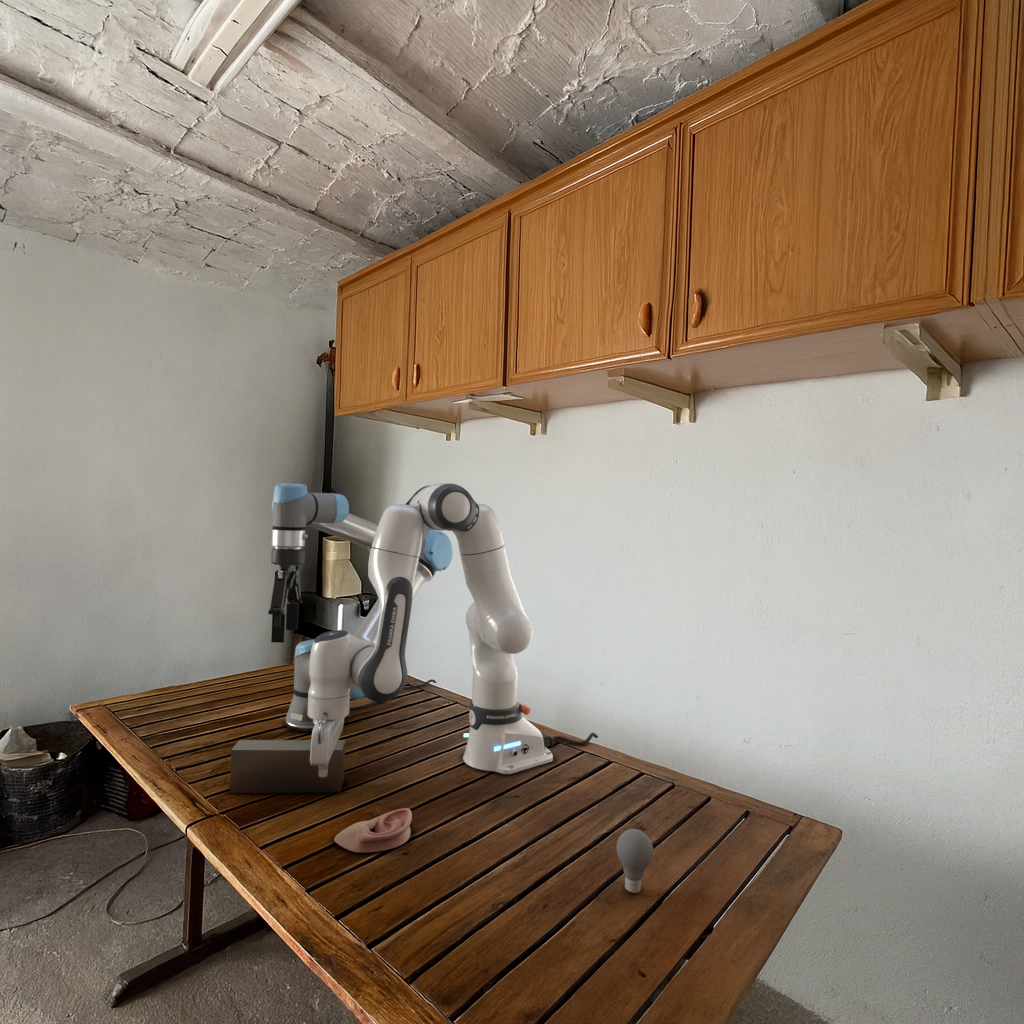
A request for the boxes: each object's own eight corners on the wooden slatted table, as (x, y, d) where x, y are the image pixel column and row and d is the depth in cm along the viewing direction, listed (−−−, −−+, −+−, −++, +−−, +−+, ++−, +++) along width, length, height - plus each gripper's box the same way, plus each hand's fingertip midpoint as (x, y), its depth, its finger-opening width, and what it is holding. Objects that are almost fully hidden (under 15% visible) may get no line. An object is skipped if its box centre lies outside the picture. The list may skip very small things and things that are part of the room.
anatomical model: (326, 826, 114) (355, 797, 125) (325, 847, 114) (354, 817, 126) (396, 837, 112) (418, 806, 123) (395, 859, 112) (417, 827, 123)
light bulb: (610, 879, 108) (613, 822, 108) (644, 879, 109) (647, 822, 109) (619, 902, 102) (622, 840, 102) (655, 901, 103) (658, 840, 103)
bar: (229, 793, 134) (231, 749, 133) (237, 782, 139) (239, 739, 139) (339, 792, 136) (341, 749, 136) (343, 781, 141) (345, 740, 141)
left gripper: (292, 552, 140) (288, 648, 140) (314, 544, 165) (311, 625, 165) (257, 551, 139) (253, 647, 139) (285, 543, 164) (282, 624, 164)
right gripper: (335, 723, 128) (333, 790, 128) (350, 692, 148) (348, 750, 149) (303, 722, 127) (300, 791, 128) (322, 691, 148) (320, 750, 148)
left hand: (285, 635), depth 152 cm, fingers open, 13 cm apart
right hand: (326, 769), depth 138 cm, fingers closed on bar, 5 cm apart
